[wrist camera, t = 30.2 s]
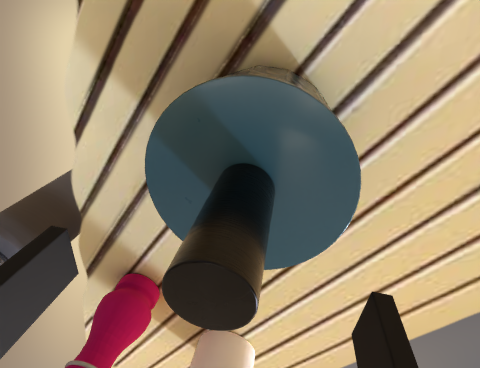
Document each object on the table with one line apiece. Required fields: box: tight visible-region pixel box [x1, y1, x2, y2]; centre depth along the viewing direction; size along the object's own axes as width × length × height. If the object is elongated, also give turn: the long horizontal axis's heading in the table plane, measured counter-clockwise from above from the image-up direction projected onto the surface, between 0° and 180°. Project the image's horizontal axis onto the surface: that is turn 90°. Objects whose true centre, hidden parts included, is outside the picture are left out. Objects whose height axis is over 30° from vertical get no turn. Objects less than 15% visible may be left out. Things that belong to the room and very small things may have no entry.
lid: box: [145, 74, 361, 331], centre depth 16 cm, size 15×15×10 cm
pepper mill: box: [65, 273, 160, 368], centre depth 33 cm, size 7×7×20 cm
